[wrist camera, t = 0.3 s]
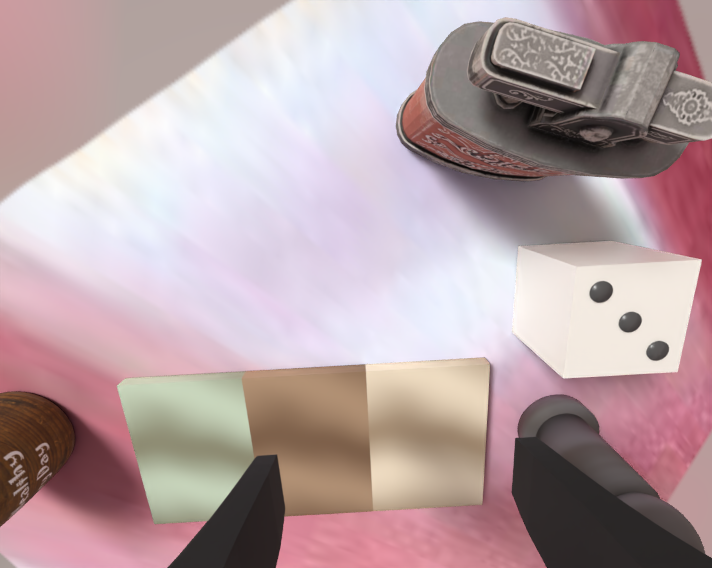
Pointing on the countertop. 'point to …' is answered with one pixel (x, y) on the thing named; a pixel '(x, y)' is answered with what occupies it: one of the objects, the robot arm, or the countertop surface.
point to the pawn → (599, 460)
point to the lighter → (553, 105)
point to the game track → (313, 436)
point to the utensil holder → (29, 447)
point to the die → (603, 307)
